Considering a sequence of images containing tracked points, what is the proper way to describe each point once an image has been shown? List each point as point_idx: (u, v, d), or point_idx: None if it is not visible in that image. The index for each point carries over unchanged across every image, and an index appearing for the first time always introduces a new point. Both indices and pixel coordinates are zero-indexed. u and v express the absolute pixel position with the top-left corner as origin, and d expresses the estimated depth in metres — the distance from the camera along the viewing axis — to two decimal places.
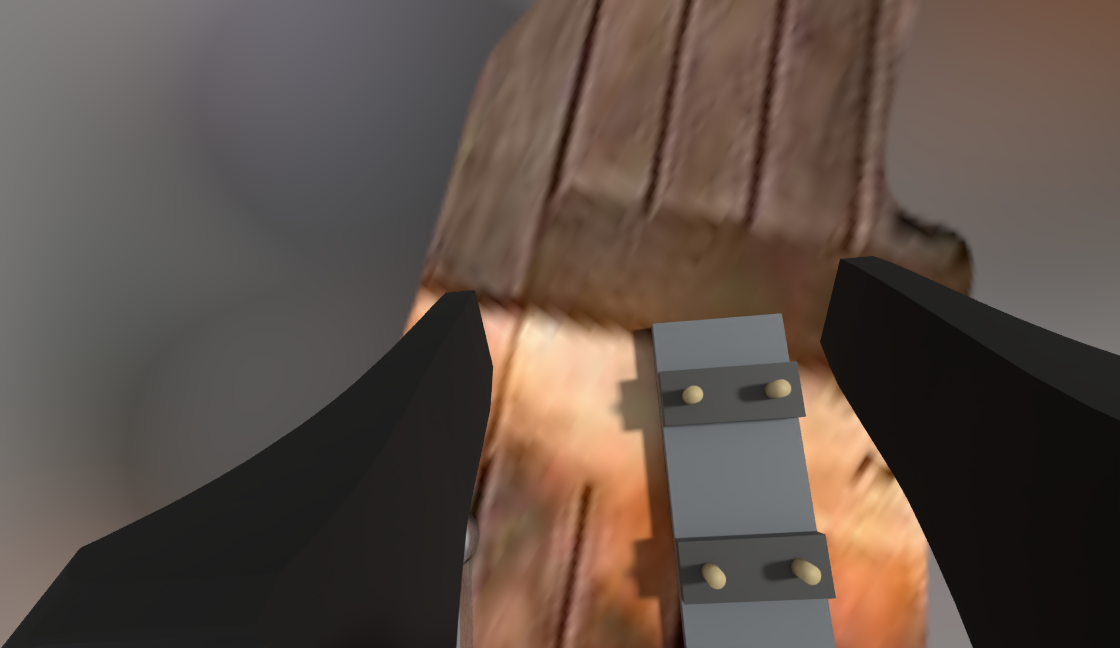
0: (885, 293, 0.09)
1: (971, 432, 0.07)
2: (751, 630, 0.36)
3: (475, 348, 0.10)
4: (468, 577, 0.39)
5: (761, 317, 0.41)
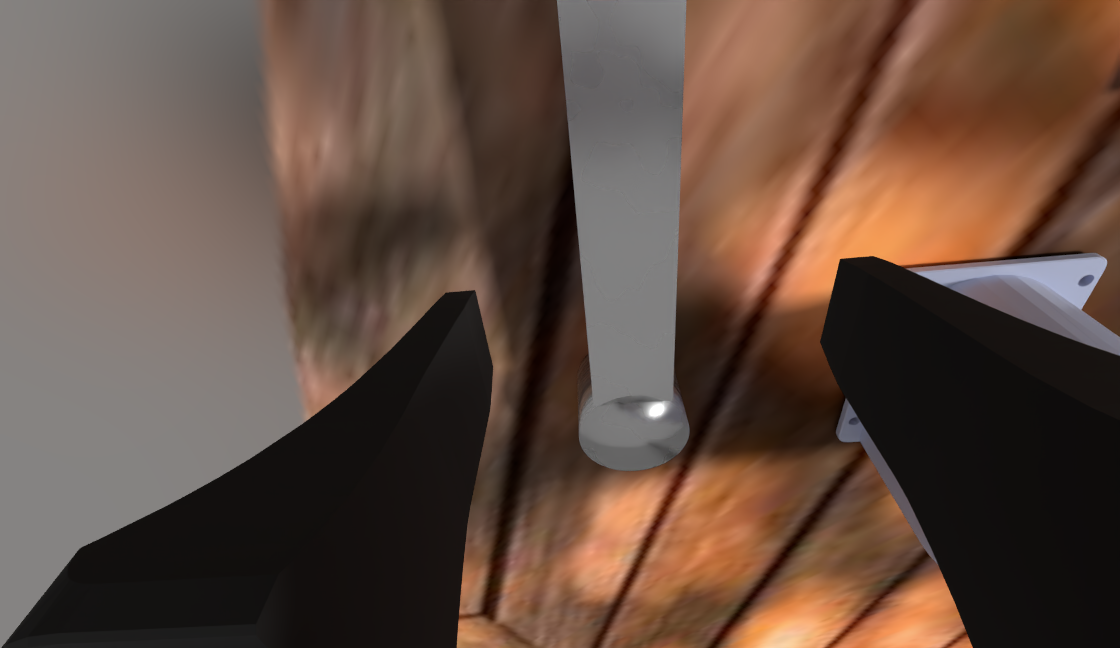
0: (885, 293, 0.09)
1: (971, 432, 0.07)
2: None
3: (475, 348, 0.10)
4: None
5: None
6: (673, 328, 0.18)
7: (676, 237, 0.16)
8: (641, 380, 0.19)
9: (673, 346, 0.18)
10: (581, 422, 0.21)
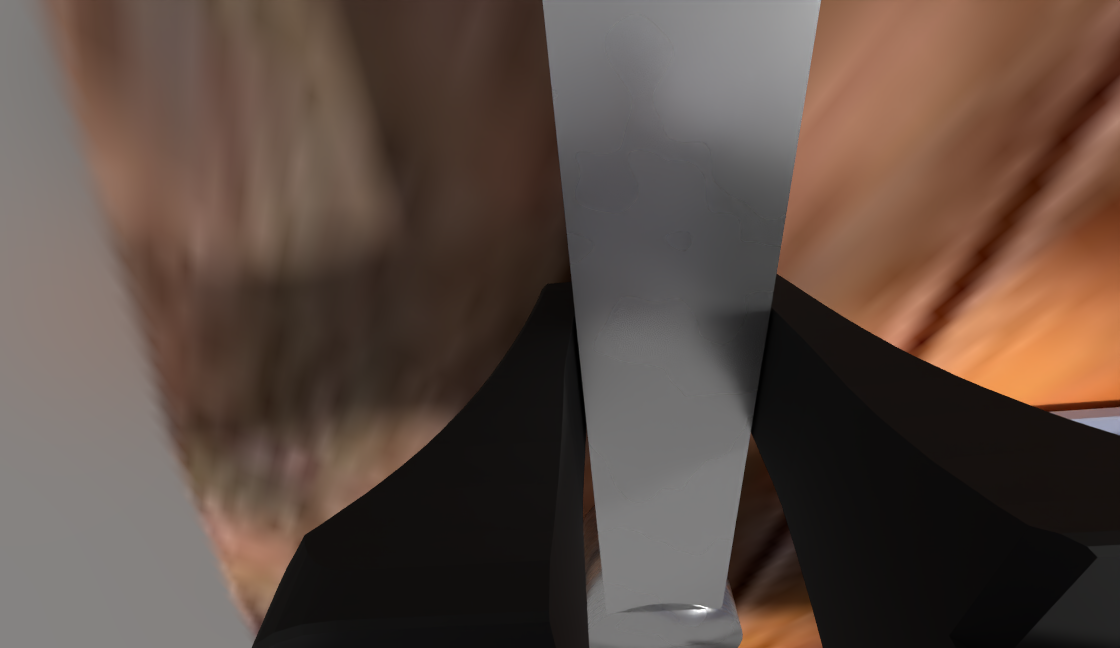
0: None
1: (816, 442, 0.07)
2: None
3: None
4: None
5: None
6: (731, 533, 0.12)
7: (748, 426, 0.10)
8: (677, 588, 0.13)
9: (729, 553, 0.12)
10: (588, 626, 0.15)
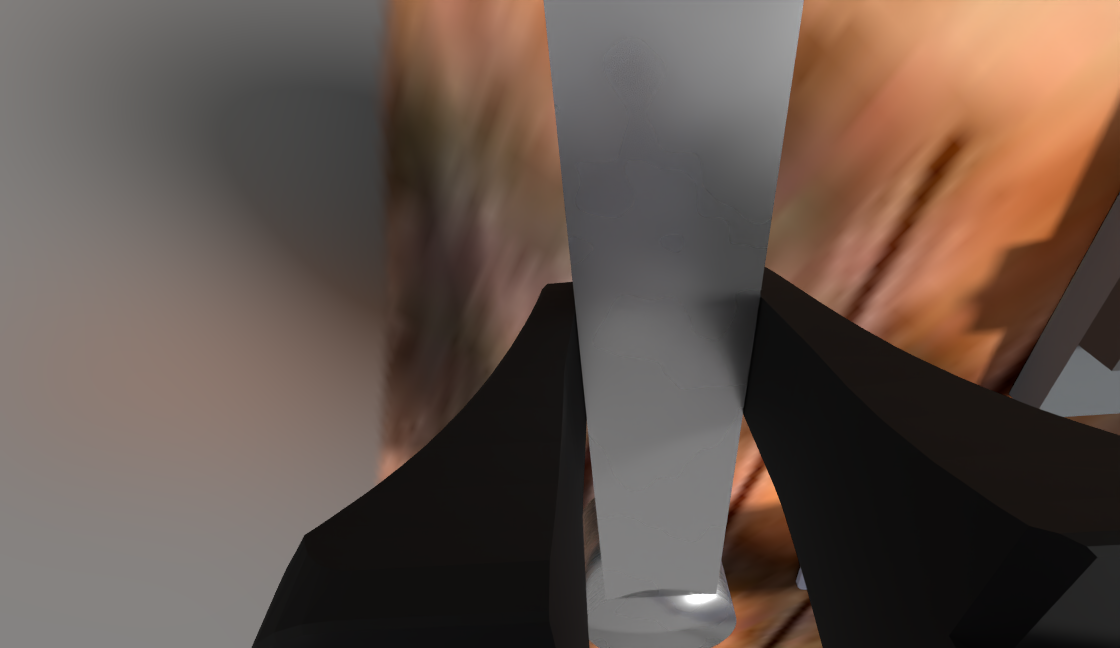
0: None
1: (816, 442, 0.07)
2: None
3: None
4: None
5: None
6: (724, 521, 0.12)
7: (739, 418, 0.10)
8: (673, 574, 0.14)
9: (722, 539, 0.13)
10: (588, 612, 0.15)
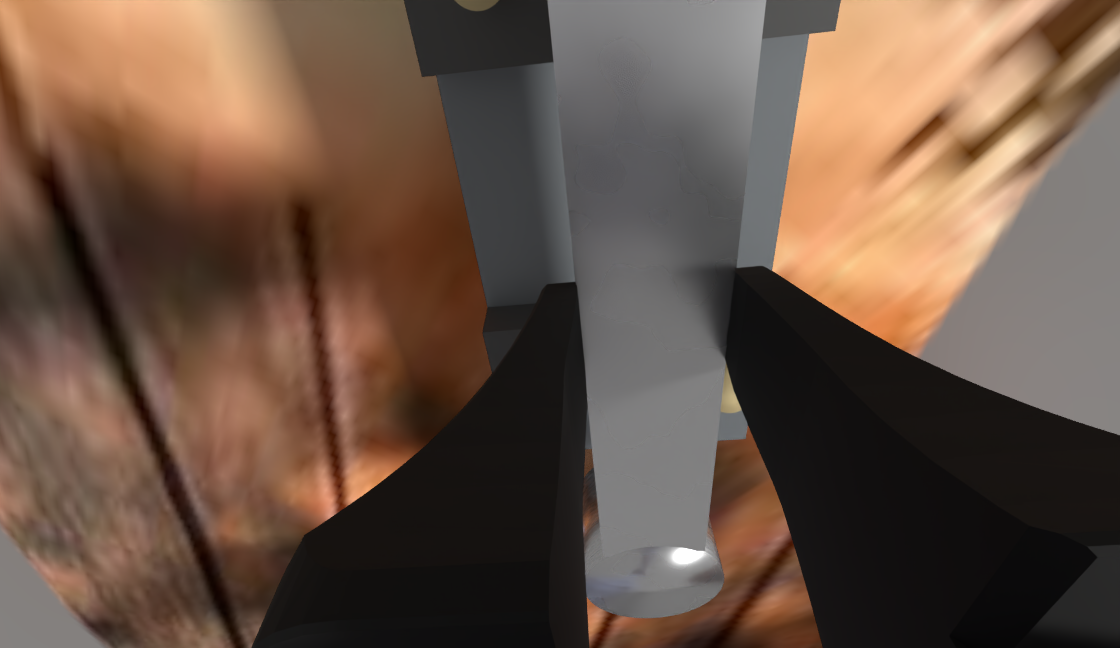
0: (758, 303, 0.09)
1: (816, 442, 0.07)
2: None
3: (581, 340, 0.10)
4: None
5: None
6: (710, 478, 0.13)
7: (721, 378, 0.11)
8: (665, 531, 0.15)
9: (709, 496, 0.14)
10: (586, 571, 0.16)
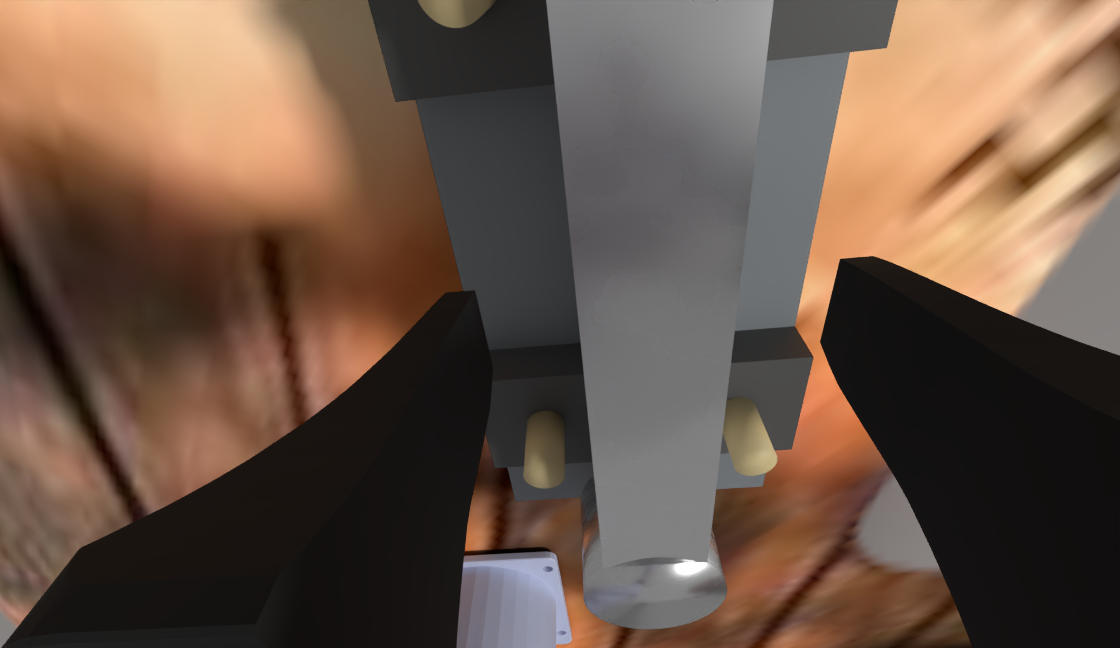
0: (885, 293, 0.09)
1: (971, 432, 0.07)
2: None
3: (475, 348, 0.10)
4: None
5: None
6: (713, 488, 0.13)
7: (725, 387, 0.11)
8: (667, 542, 0.14)
9: (712, 507, 0.14)
10: (587, 581, 0.16)
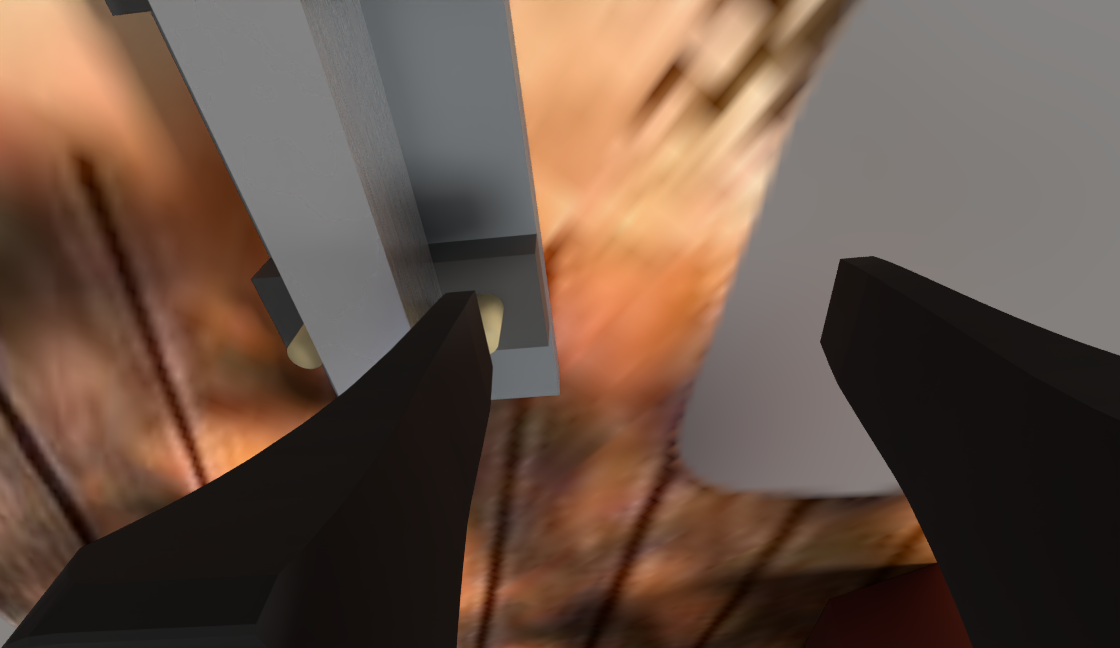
0: (885, 293, 0.09)
1: (971, 432, 0.07)
2: None
3: (475, 348, 0.10)
4: None
5: None
6: None
7: (381, 248, 0.14)
8: None
9: None
10: None
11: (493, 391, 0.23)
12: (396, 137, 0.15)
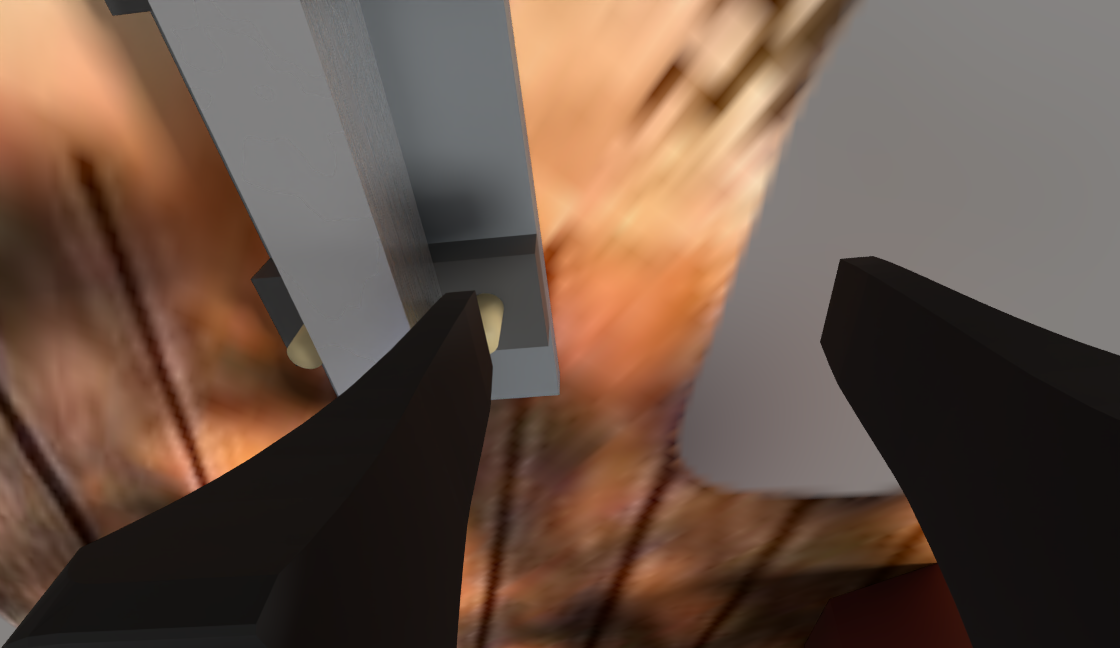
0: (886, 293, 0.09)
1: (971, 432, 0.07)
2: None
3: (475, 348, 0.10)
4: None
5: None
6: None
7: (381, 248, 0.14)
8: None
9: None
10: None
11: (493, 391, 0.23)
12: (396, 137, 0.15)
